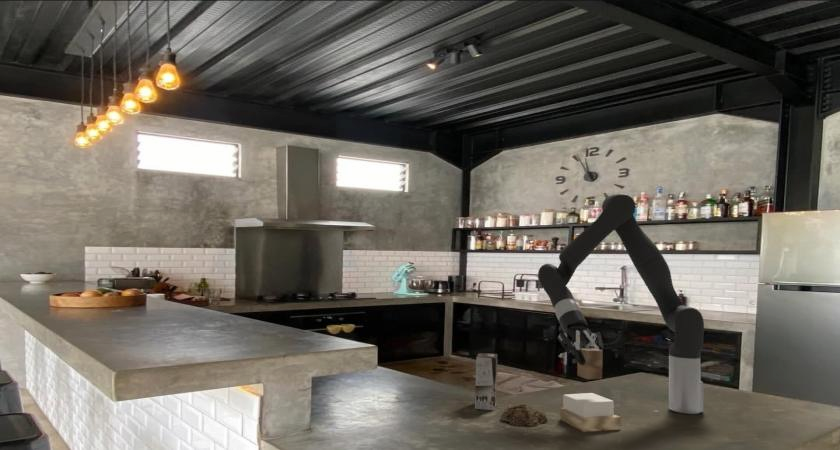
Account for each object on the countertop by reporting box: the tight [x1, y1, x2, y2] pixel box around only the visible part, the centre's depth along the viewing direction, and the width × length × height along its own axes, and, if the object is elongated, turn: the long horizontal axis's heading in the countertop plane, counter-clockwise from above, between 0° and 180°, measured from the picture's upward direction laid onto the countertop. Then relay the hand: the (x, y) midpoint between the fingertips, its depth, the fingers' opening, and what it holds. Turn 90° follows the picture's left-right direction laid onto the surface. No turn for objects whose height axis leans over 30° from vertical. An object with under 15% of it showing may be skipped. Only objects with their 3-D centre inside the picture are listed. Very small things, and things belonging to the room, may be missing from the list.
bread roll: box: [500, 403, 548, 427], centre depth 166 cm, size 13×12×5 cm
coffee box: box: [474, 352, 498, 411], centre depth 181 cm, size 9×6×16 cm
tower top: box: [562, 392, 615, 418], centre depth 164 cm, size 10×10×4 cm
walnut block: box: [576, 347, 604, 380], centre depth 165 cm, size 5×5×8 cm
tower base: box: [560, 407, 622, 433], centre depth 164 cm, size 12×12×4 cm
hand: (591, 363), depth 164 cm, fingers closed on walnut block, 5 cm apart
